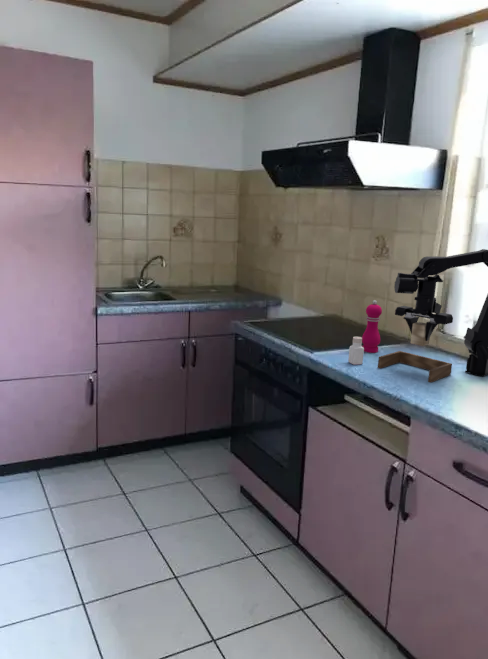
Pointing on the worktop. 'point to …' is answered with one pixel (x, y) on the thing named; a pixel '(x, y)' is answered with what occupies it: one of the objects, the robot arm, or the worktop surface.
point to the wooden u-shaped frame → (417, 364)
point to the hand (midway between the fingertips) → (420, 339)
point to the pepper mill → (372, 328)
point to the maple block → (419, 334)
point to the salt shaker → (356, 351)
